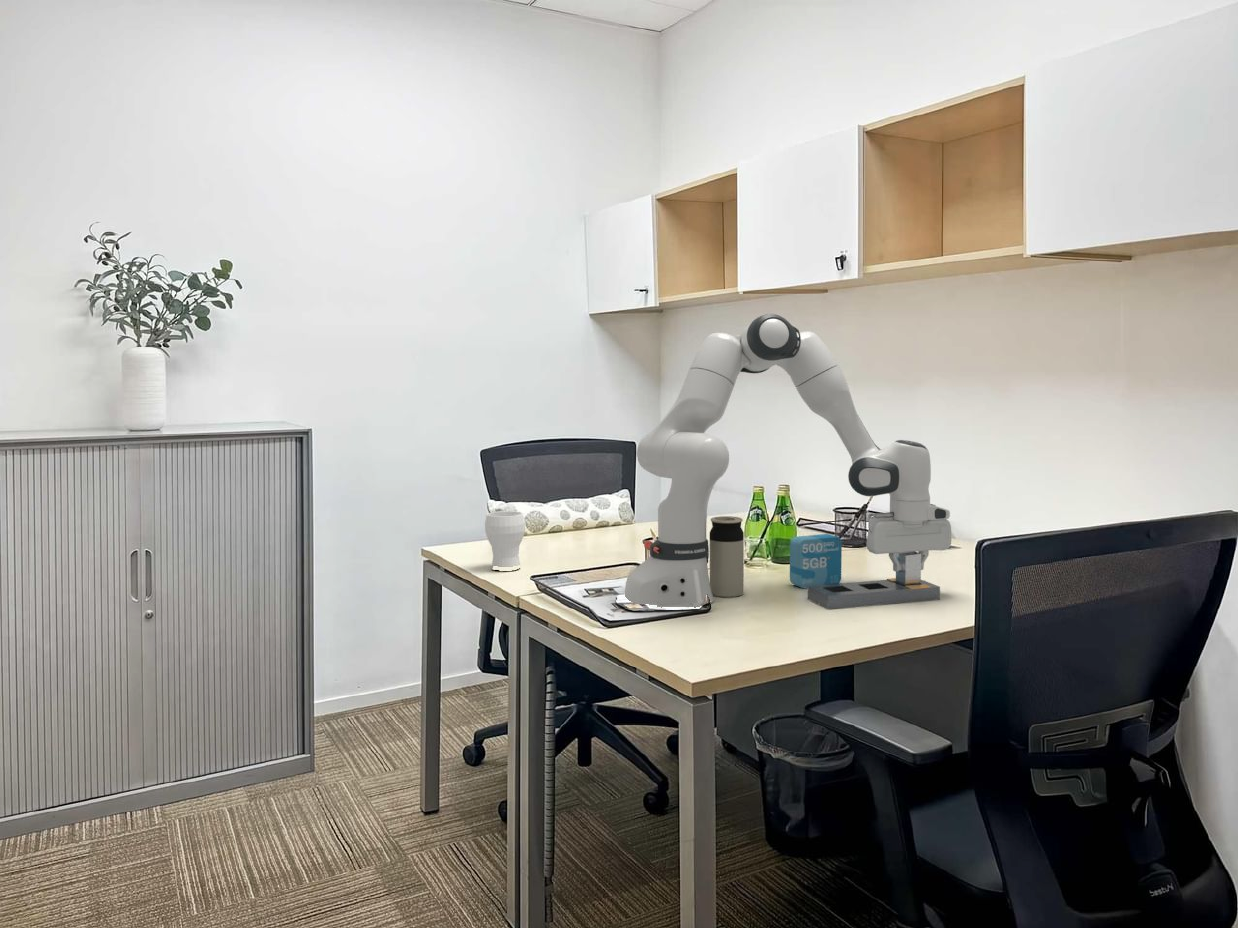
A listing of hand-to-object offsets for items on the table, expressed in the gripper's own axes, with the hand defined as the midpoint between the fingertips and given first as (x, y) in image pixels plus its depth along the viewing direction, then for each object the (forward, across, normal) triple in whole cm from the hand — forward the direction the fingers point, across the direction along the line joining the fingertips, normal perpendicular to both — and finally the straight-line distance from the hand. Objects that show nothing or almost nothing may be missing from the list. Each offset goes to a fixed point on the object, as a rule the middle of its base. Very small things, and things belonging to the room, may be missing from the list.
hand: (908, 570), depth 219 cm
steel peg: (+5, 0, 0) cm, 5 cm away
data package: (+6, -15, +17) cm, 23 cm away
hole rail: (+6, -9, 0) cm, 11 cm away
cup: (+6, -85, +59) cm, 104 cm away
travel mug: (+6, -39, +15) cm, 42 cm away
